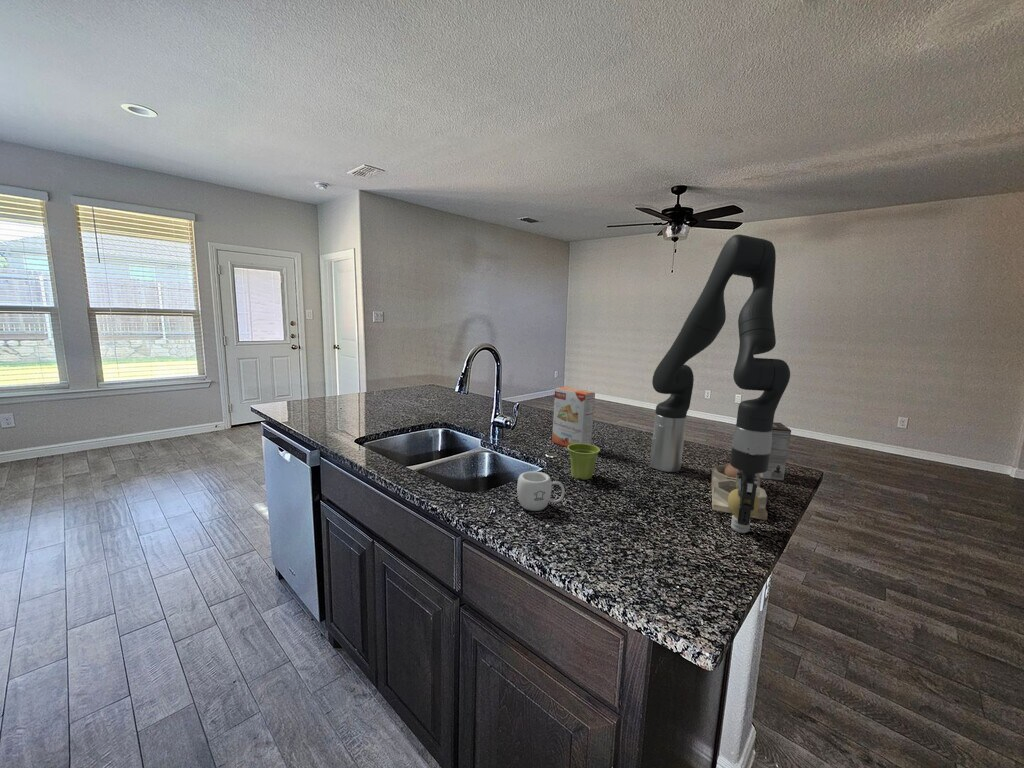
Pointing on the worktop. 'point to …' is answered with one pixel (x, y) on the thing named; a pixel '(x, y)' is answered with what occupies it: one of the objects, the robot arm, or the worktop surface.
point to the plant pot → (582, 460)
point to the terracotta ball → (730, 471)
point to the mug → (536, 490)
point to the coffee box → (778, 452)
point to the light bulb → (734, 506)
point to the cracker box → (573, 416)
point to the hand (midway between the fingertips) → (741, 516)
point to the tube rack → (726, 484)
